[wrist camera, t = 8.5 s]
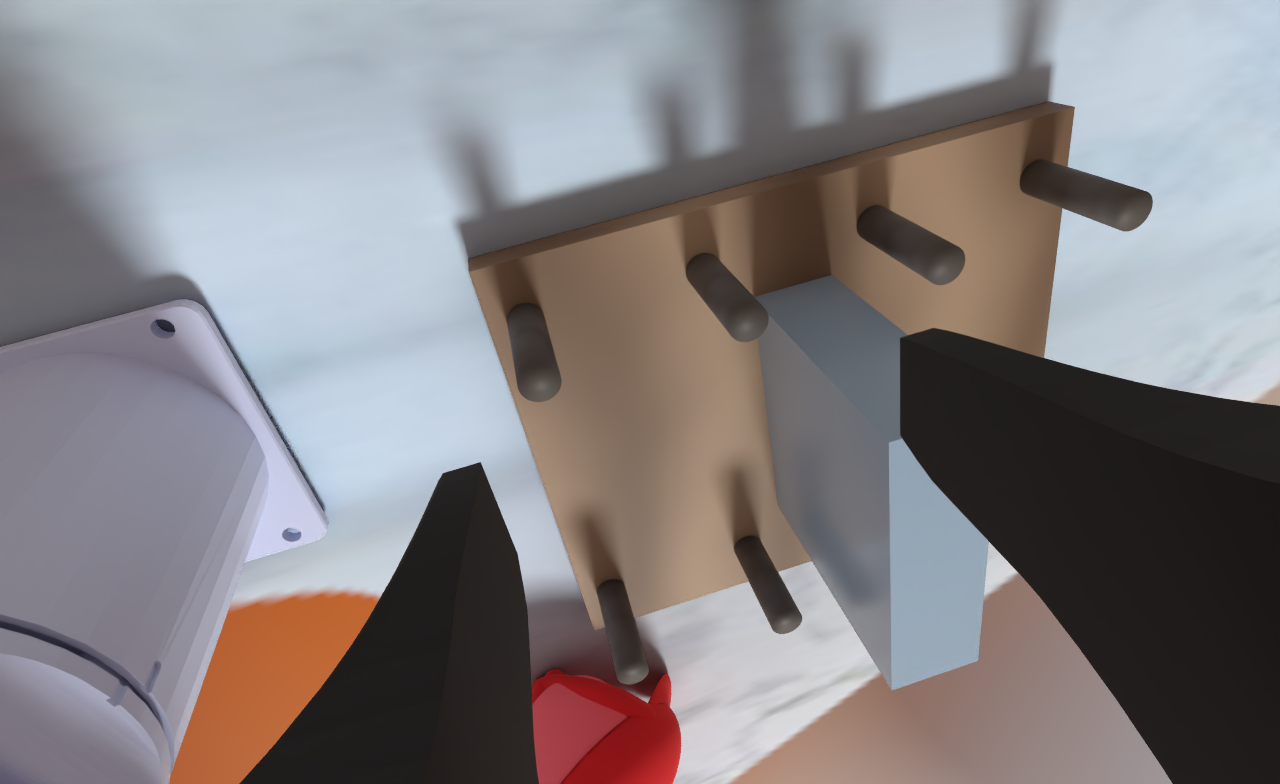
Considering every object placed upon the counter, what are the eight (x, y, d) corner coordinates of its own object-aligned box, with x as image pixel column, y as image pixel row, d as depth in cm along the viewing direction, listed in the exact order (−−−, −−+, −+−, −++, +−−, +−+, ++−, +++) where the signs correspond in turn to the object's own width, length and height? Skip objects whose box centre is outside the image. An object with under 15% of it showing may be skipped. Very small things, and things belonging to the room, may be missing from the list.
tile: (778, 506, 25) (891, 690, 18) (752, 297, 20) (888, 442, 14) (843, 486, 25) (977, 660, 18) (831, 274, 21) (1000, 407, 14)
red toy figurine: (495, 864, 28) (643, 924, 26) (452, 843, 23) (629, 914, 21) (571, 662, 32) (700, 703, 31) (548, 610, 28) (699, 655, 26)
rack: (589, 610, 26) (613, 716, 23) (468, 258, 19) (472, 329, 15) (1009, 475, 28) (1097, 553, 24) (1048, 101, 21) (1184, 130, 17)
